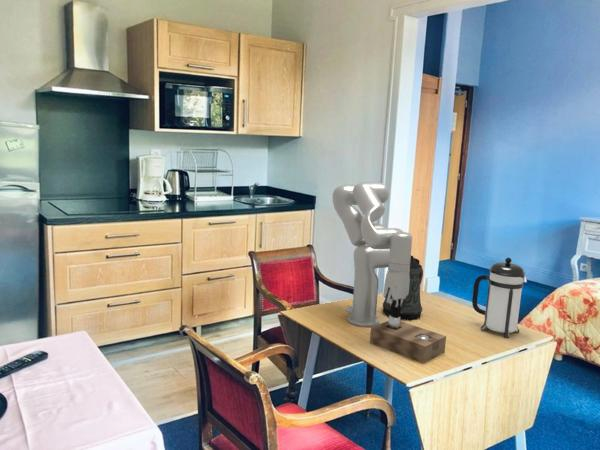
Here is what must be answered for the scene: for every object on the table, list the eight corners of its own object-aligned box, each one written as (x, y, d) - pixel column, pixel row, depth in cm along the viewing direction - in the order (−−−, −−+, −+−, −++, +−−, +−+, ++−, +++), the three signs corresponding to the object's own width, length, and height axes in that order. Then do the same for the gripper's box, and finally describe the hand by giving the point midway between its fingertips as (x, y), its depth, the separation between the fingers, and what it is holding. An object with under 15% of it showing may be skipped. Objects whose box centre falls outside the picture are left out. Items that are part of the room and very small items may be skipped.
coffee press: (512, 325, 210) (521, 254, 205) (525, 340, 194) (535, 263, 189) (469, 321, 212) (477, 251, 207) (478, 336, 196) (487, 260, 191)
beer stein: (379, 317, 212) (384, 258, 208) (385, 303, 230) (390, 249, 226) (420, 323, 208) (425, 263, 203) (423, 308, 226) (428, 253, 222)
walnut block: (369, 343, 184) (371, 327, 183) (391, 333, 194) (393, 318, 193) (423, 363, 169) (425, 346, 168) (444, 352, 179) (446, 336, 178)
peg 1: (385, 330, 185) (386, 316, 184) (392, 328, 188) (393, 313, 187) (395, 333, 182) (396, 319, 182) (401, 331, 185) (402, 316, 184)
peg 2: (413, 351, 178) (414, 336, 177) (419, 348, 181) (421, 333, 180) (423, 355, 175) (425, 339, 174) (429, 352, 178) (431, 337, 177)
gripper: (401, 262, 189) (397, 309, 192) (377, 267, 178) (374, 318, 181) (419, 266, 184) (415, 315, 187) (396, 272, 173) (392, 324, 176)
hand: (395, 316), depth 184 cm, fingers closed
